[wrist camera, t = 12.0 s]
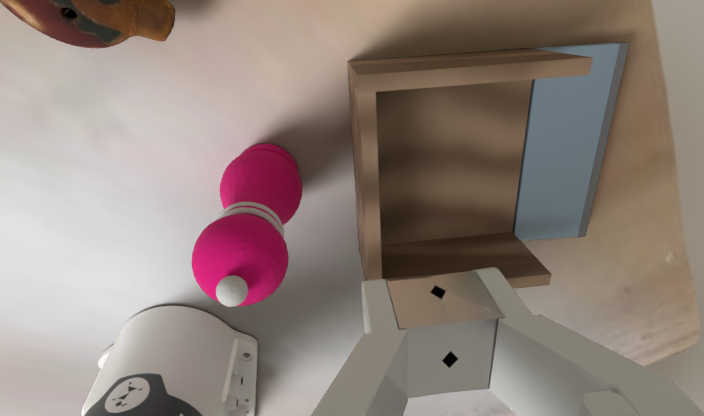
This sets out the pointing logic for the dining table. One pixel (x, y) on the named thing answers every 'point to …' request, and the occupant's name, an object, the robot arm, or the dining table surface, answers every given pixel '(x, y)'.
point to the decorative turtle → (96, 19)
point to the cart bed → (445, 160)
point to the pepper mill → (249, 228)
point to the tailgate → (567, 144)
